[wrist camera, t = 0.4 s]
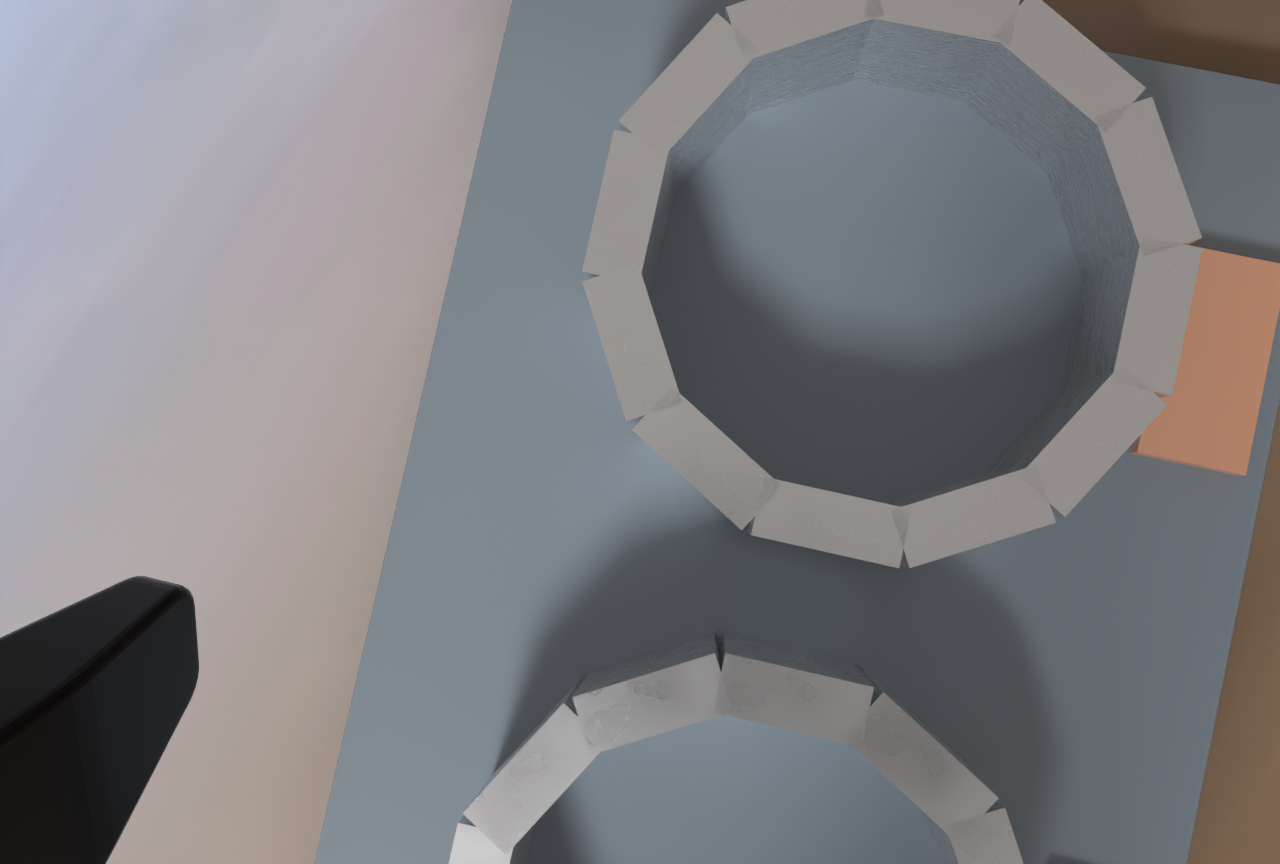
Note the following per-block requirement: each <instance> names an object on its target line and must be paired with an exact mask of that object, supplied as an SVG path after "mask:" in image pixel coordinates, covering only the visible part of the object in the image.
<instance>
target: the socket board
mask: <svg viewBox="0 0 1280 864" xmlns="http://www.w3.org/2000/svg"><path fill="white" fill-rule="evenodd" d="M1019 2H1020V0H512V5H511V9H510V13H509V18H508V22H507V26H506V31H505V35H504V39H503V44H502V48H501V53H500V57H499V61H498V66H497V70H496V74H495V79H494V83H493V87H492V92H491V96H490V100H489V105H488V109H487V113H486V118H485V122H484V127H483V131H482V135H481V140H480V144H479V148H478V153H477V157H476V161H475V166H474V170H473V174H472V179H471V183H470V188H469V192H468V196H467V201H466V205H465V209H464V214H463V218H462V222H461V227H460V231H459V235H458V240H457V244H456V248H455V253H454V257H453V262H452V266H451V270H450V275H449V279H448V283H447V288H446V292H445V296H444V301H443V305H442V309H441V314H440V318H439V323H438V327H437V331H436V336H435V340H434V344H433V349H432V353H431V357H430V362H429V366H428V370H427V375H426V379H425V384H424V388H423V392H422V397H421V401H420V405H419V410H418V414H417V418H416V423H415V427H414V431H413V436H412V440H411V444H410V449H409V453H408V458H407V462H406V466H405V471H404V475H403V479H402V484H401V488H400V492H399V497H398V501H397V505H396V510H395V514H394V519H393V523H392V527H391V532H390V536H389V540H388V545H387V549H386V553H385V558H384V562H383V566H382V571H381V575H380V579H379V584H378V588H377V593H376V597H375V601H374V606H373V610H372V614H371V619H370V623H369V627H368V632H367V636H366V640H365V645H364V649H363V654H362V658H361V662H360V667H359V671H358V675H357V680H356V684H355V688H354V693H353V697H352V701H351V706H350V710H349V714H348V719H347V723H346V728H345V732H344V736H343V741H342V745H341V749H340V754H339V758H338V762H337V767H336V771H335V775H334V780H333V784H332V789H331V793H330V797H329V802H328V806H327V810H326V815H325V819H324V823H323V828H322V832H321V836H320V841H319V845H318V850H317V854H316V858H315V863H314V864H1187V859H1188V854H1189V849H1190V844H1191V839H1192V834H1193V830H1194V825H1195V820H1196V815H1197V810H1198V805H1199V800H1200V795H1201V790H1202V785H1203V780H1204V775H1205V770H1206V765H1207V760H1208V755H1209V750H1210V745H1211V740H1212V735H1213V730H1214V725H1215V720H1216V715H1217V710H1218V705H1219V700H1220V695H1221V690H1222V685H1223V680H1224V675H1225V670H1226V665H1227V660H1228V655H1229V650H1230V645H1231V640H1232V635H1233V630H1234V625H1235V620H1236V615H1237V610H1238V605H1239V600H1240V595H1241V590H1242V585H1243V580H1244V575H1245V570H1246V565H1247V560H1248V555H1249V550H1250V545H1251V540H1252V535H1253V530H1254V525H1255V520H1256V515H1257V511H1258V506H1259V501H1260V496H1261V491H1262V486H1263V481H1264V476H1265V471H1266V466H1267V461H1268V456H1269V451H1270V446H1271V441H1272V436H1273V431H1274V426H1275V421H1276V416H1277V411H1278V406H1279V401H1280V84H1275V83H1269V82H1264V81H1259V80H1254V79H1248V78H1243V77H1238V76H1233V75H1228V74H1222V73H1217V72H1212V71H1207V70H1201V69H1196V68H1191V67H1186V66H1180V65H1175V64H1170V63H1165V62H1159V61H1154V60H1149V59H1144V58H1138V57H1133V56H1128V55H1123V54H1117V53H1112V52H1107V51H1102V50H1100V49H1099V48H1098V47H1097V46H1096V45H1095V44H1093V43H1092V42H1091V41H1090V40H1089V39H1087V38H1086V37H1085V36H1084V35H1083V34H1081V33H1080V32H1079V31H1078V30H1077V29H1076V28H1074V27H1073V26H1072V25H1071V24H1070V23H1068V22H1067V21H1066V20H1065V19H1064V18H1063V17H1061V16H1060V15H1059V14H1058V13H1057V12H1055V11H1054V10H1053V9H1052V8H1051V7H1049V6H1048V5H1047V4H1046V3H1045V2H1044V1H1042V0H1024V1H1023V2H1022V3H1021V4H1020V5H1019Z"/></svg>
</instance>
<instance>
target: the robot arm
mask: <svg viewBox="0 0 1280 864" xmlns="http://www.w3.org/2000/svg"><path fill="white" fill-rule="evenodd" d="M198 672H199V659H198V645H197V632H196V618H195V605H194V600H193V596H192V594H191V592H190V591H189V590H188V589H187V588H185V587H183V586H182V585H178V584H174V583H170V582H166V581H162V580H158V579H153V578H149V577H145V576H136V577H132V578H129V579H126V580H124V581H122V582H119V583H117V584H115V585H113V586H111V587H109V588H107V589H104V590H102V591H100V592H98V593H96V594H94V595H91V596H89V597H87V598H85V599H83V600H81V601H78V602H76V603H74V604H72V605H70V606H68V607H66V608H63V609H61V610H59V611H57V612H55V613H53V614H50V615H48V616H46V617H44V618H42V619H40V620H37V621H35V622H33V623H31V624H29V625H27V626H25V627H22V628H20V629H18V630H16V631H14V632H12V633H9V634H7V635H5V636H3V637H1V638H0V864H106V862H107V860H108V858H109V857H110V855H111V853H112V851H113V849H114V847H115V846H116V844H117V842H118V840H119V838H120V836H121V834H122V832H123V830H124V828H125V826H126V824H127V822H128V820H129V818H130V816H131V814H132V813H133V811H134V809H135V807H136V805H137V803H138V801H139V799H140V797H141V795H142V793H143V791H144V789H145V787H146V785H147V783H148V781H149V779H150V778H151V776H152V774H153V772H154V770H155V768H156V766H157V764H158V762H159V760H160V758H161V756H162V754H163V752H164V750H165V748H166V746H167V744H168V743H169V741H170V739H171V737H172V735H173V733H174V731H175V729H176V727H177V725H178V723H179V721H180V719H181V717H182V715H183V713H184V711H185V709H186V708H187V706H188V704H189V702H190V700H191V697H192V695H193V692H194V690H195V687H196V683H197V679H198Z"/></svg>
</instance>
